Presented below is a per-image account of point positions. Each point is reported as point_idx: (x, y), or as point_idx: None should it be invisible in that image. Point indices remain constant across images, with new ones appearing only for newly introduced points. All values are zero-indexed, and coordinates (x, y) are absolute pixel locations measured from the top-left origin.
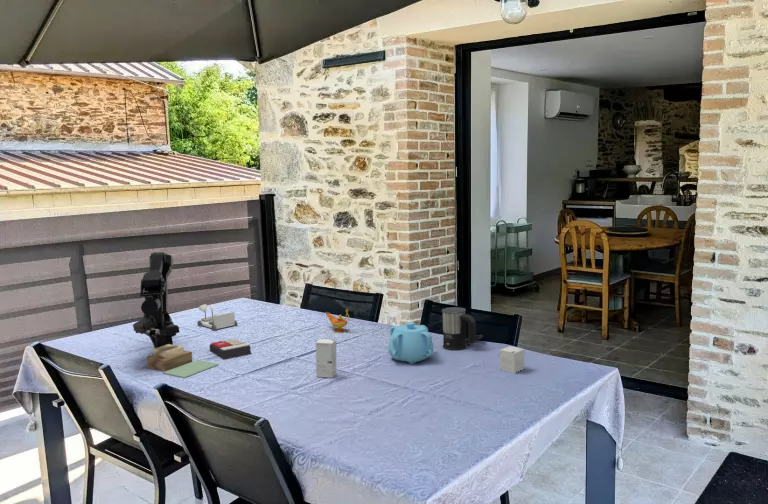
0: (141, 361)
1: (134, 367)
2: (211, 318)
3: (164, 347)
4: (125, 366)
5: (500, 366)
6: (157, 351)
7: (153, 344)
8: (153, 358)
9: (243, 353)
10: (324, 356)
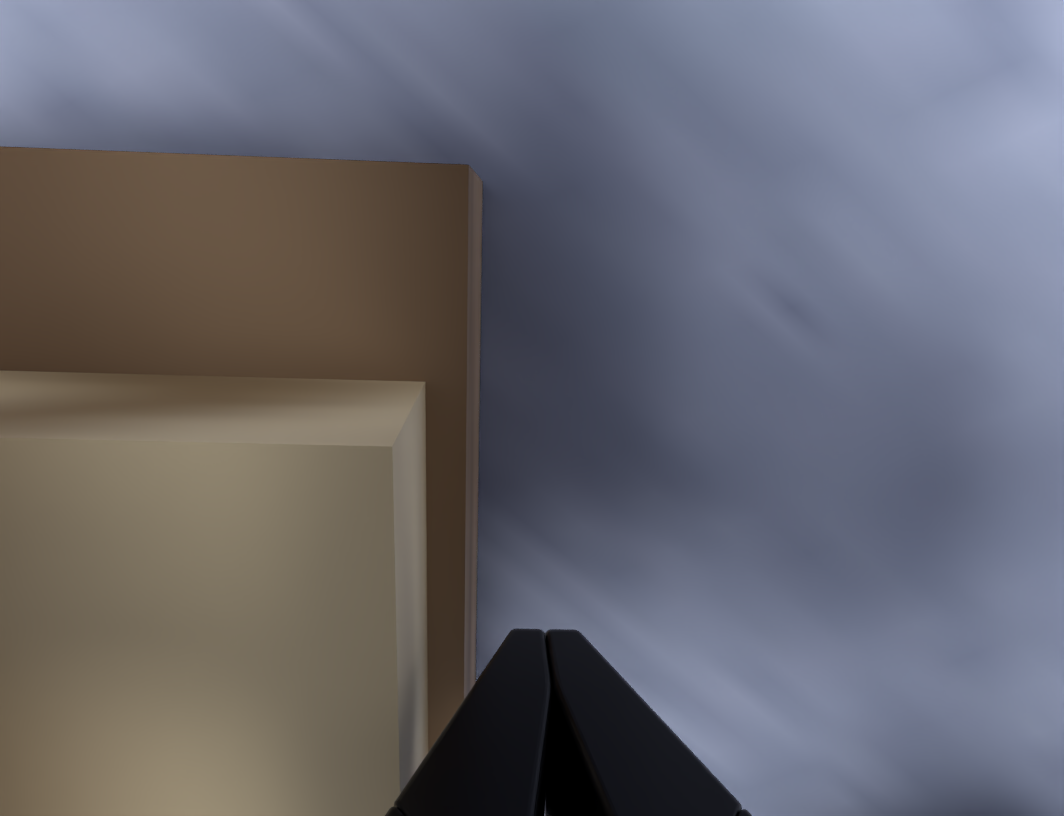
0: (931, 431)
1: (778, 74)
2: None
3: (160, 755)
4: (1030, 38)
5: None
6: (138, 418)
7: (667, 742)
8: (137, 152)
9: None
10: None
